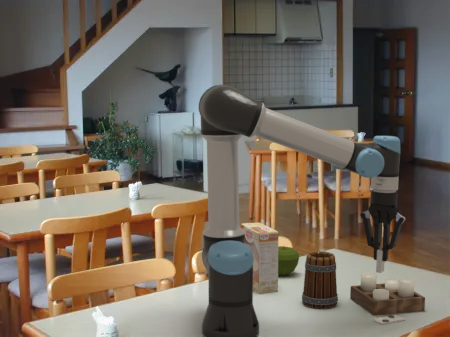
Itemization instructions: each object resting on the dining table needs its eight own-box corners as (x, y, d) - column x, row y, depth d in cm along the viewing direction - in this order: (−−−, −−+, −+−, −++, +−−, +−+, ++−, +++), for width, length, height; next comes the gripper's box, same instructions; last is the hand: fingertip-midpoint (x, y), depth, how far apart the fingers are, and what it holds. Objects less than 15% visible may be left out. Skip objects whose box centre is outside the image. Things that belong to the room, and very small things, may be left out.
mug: (336, 310, 213) (338, 260, 211) (300, 308, 215) (301, 258, 213) (339, 294, 228) (340, 247, 226) (305, 292, 230) (306, 245, 228)
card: (380, 324, 201) (381, 322, 201) (372, 320, 205) (372, 318, 205) (404, 320, 205) (404, 318, 204) (395, 316, 208) (395, 314, 208)
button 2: (376, 311, 211) (377, 294, 210) (369, 306, 215) (370, 289, 214) (391, 309, 212) (392, 292, 211) (384, 304, 216) (384, 288, 216)
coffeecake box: (239, 281, 242) (240, 223, 240) (259, 279, 245) (260, 221, 242) (257, 294, 228) (258, 232, 226) (278, 292, 231) (279, 231, 228)
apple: (263, 271, 254) (263, 243, 253) (291, 269, 257) (291, 241, 256) (274, 280, 244) (275, 250, 242) (304, 277, 247) (304, 248, 245)
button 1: (364, 294, 218) (365, 278, 217) (357, 290, 222) (358, 274, 222) (378, 293, 219) (379, 277, 218) (371, 289, 224) (372, 273, 223)
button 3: (388, 300, 220) (389, 284, 220) (381, 295, 225) (382, 279, 224) (402, 299, 222) (403, 283, 221) (395, 294, 226) (396, 278, 225)
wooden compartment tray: (373, 315, 209) (374, 301, 208) (350, 298, 224) (350, 286, 224) (424, 311, 213) (425, 297, 212) (398, 294, 228) (398, 282, 228)
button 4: (402, 300, 212) (403, 283, 212) (394, 296, 217) (395, 279, 216) (416, 299, 214) (417, 282, 213) (408, 294, 218) (409, 278, 217)
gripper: (357, 189, 209) (353, 270, 212) (403, 194, 202) (398, 278, 205) (366, 186, 215) (362, 265, 218) (410, 191, 209) (406, 272, 212)
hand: (380, 271), depth 212 cm, fingers closed
